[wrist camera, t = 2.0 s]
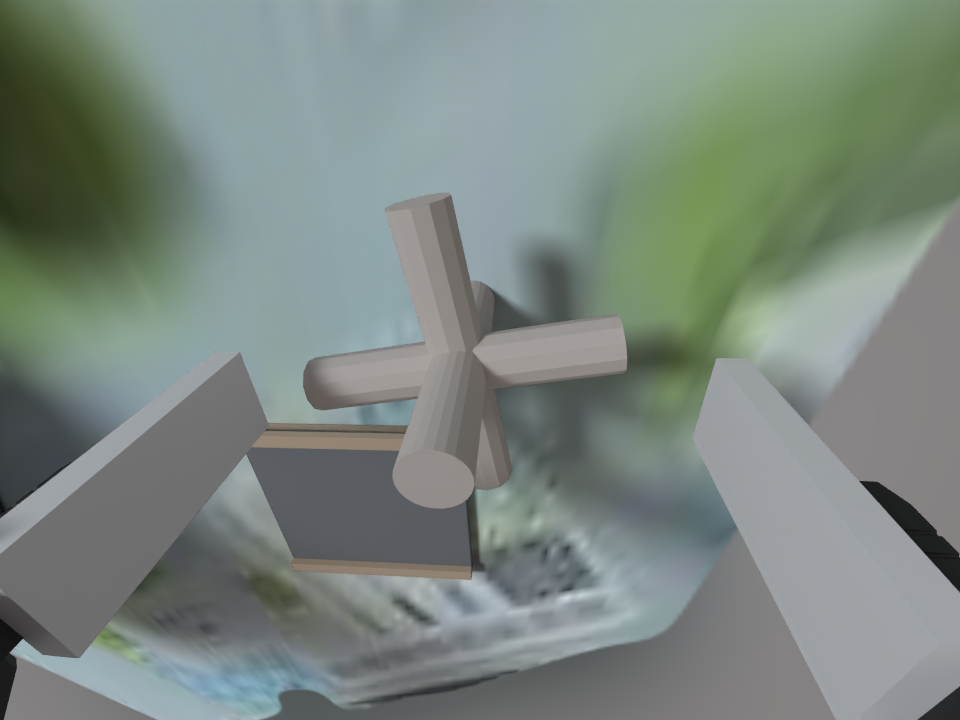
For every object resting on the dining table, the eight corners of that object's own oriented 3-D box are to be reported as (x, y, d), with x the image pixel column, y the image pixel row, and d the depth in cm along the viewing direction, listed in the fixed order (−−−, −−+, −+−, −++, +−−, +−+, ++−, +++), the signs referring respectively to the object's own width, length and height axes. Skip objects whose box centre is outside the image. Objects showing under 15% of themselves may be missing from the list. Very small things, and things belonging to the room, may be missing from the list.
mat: (301, 557, 28) (294, 570, 28) (242, 423, 22) (230, 435, 21) (472, 565, 27) (471, 579, 27) (461, 426, 21) (458, 440, 20)
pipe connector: (599, 382, 19) (667, 599, 11) (398, 406, 21) (316, 611, 12) (584, 146, 14) (686, 198, 6) (321, 203, 16) (95, 308, 7)
